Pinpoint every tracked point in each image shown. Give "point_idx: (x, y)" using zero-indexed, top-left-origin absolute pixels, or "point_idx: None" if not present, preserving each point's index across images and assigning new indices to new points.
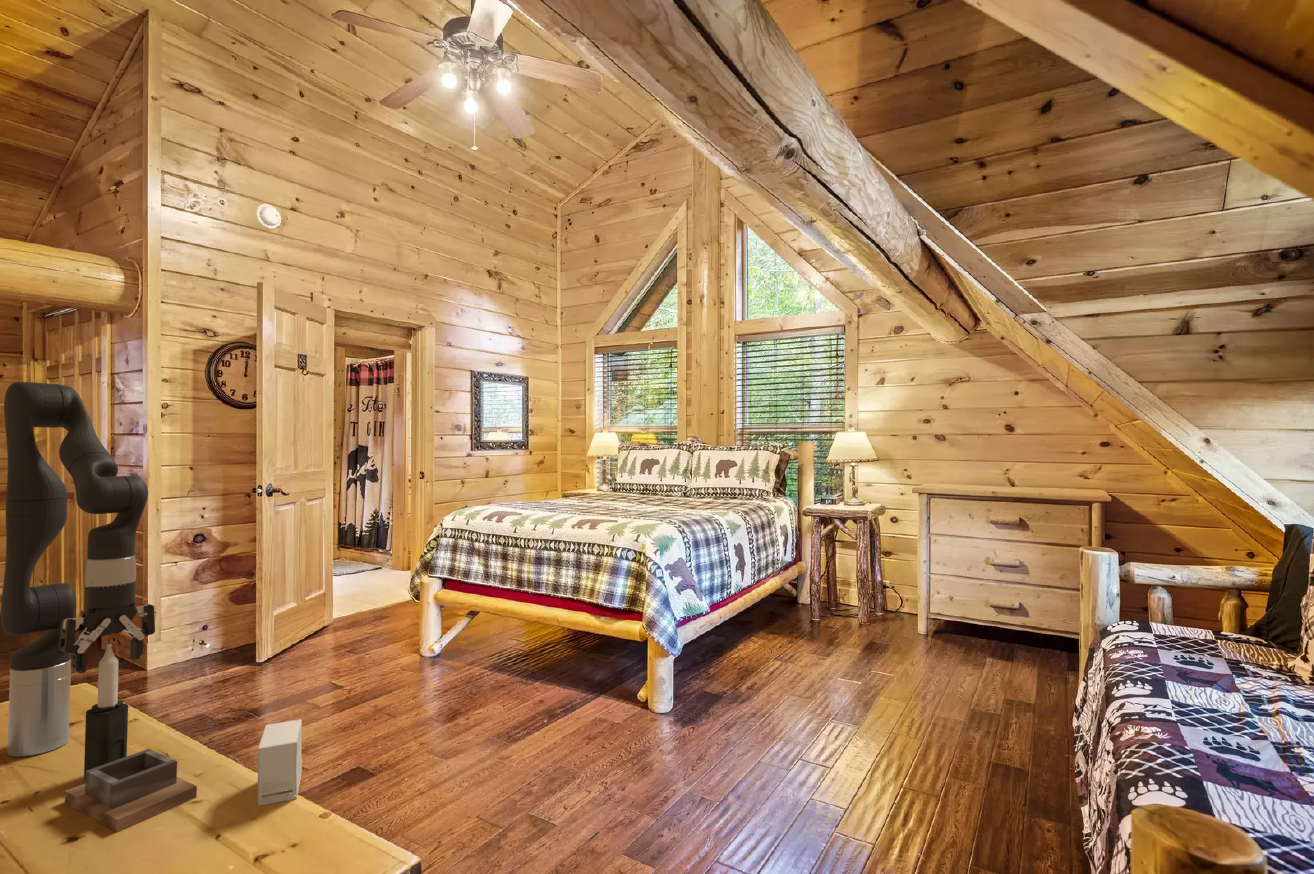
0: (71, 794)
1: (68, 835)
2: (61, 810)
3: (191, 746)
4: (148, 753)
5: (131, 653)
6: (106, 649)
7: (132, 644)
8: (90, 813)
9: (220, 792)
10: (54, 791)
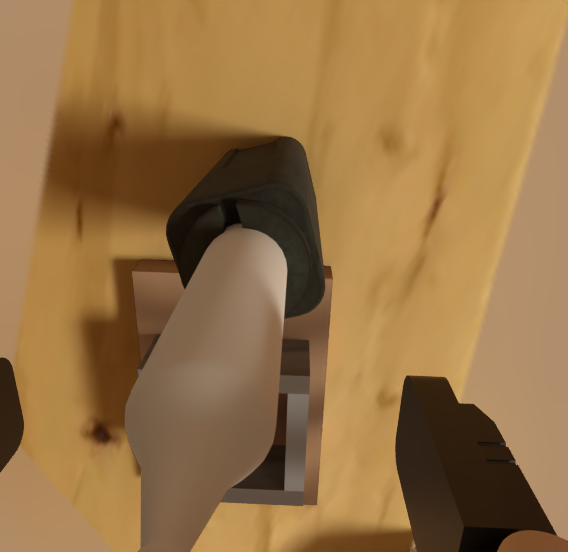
0: (135, 306)
1: (99, 415)
2: (123, 295)
3: (506, 217)
4: (290, 405)
5: (416, 422)
6: (141, 532)
7: (436, 526)
8: None
9: (352, 504)
10: (146, 165)
